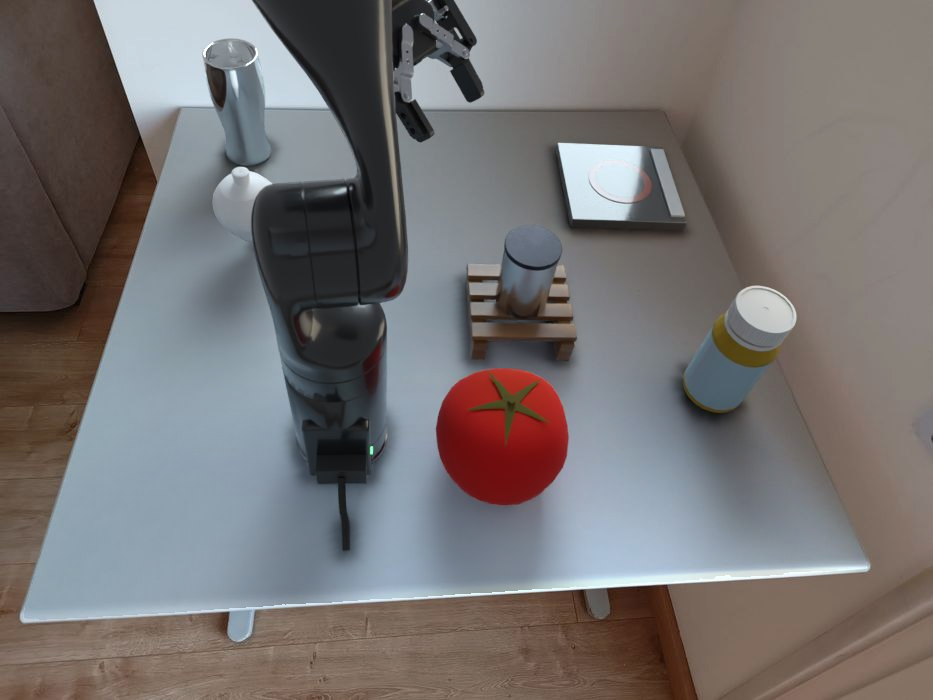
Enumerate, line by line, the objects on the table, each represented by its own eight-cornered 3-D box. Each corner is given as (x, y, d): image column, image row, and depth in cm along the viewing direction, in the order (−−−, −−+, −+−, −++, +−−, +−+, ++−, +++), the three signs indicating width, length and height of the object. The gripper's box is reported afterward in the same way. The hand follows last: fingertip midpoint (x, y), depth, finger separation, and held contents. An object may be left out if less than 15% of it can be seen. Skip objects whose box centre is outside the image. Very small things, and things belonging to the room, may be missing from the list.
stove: (683, 230, 98) (688, 220, 97) (570, 227, 97) (573, 217, 95) (659, 154, 108) (663, 144, 106) (555, 150, 106) (557, 140, 104)
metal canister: (549, 320, 82) (566, 267, 75) (496, 319, 81) (507, 266, 74) (543, 279, 85) (558, 225, 78) (492, 278, 85) (502, 224, 78)
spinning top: (293, 261, 88) (282, 187, 79) (230, 275, 86) (211, 200, 77) (279, 219, 92) (266, 144, 83) (218, 231, 90) (198, 155, 81)
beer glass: (220, 139, 100) (197, 39, 88) (270, 133, 102) (255, 35, 90) (226, 171, 97) (203, 72, 85) (278, 164, 98) (263, 66, 86)
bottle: (697, 421, 80) (752, 342, 68) (670, 370, 84) (719, 287, 72) (750, 409, 82) (814, 330, 70) (722, 360, 86) (778, 277, 74)
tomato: (454, 536, 70) (465, 485, 60) (420, 418, 77) (425, 356, 68) (574, 506, 73) (603, 453, 63) (530, 395, 80) (550, 333, 71)
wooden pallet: (571, 360, 84) (578, 341, 80) (469, 359, 82) (472, 340, 79) (558, 282, 91) (564, 262, 87) (464, 280, 89) (466, 260, 86)
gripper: (328, -32, 58) (433, 143, 64) (432, -88, 66) (517, 74, 72) (287, 6, 64) (387, 163, 70) (387, -49, 71) (469, 97, 78)
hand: (453, 118), depth 71 cm, fingers open, 8 cm apart
